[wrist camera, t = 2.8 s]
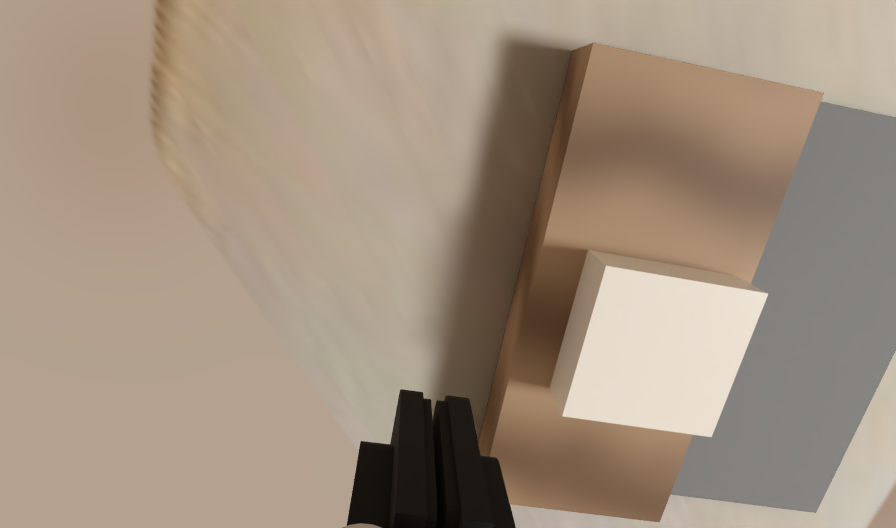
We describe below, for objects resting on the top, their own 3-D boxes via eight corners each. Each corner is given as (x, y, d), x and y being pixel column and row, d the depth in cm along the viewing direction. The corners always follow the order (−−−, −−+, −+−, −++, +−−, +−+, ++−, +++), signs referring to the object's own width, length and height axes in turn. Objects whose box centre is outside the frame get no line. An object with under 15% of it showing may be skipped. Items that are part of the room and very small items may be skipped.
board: (572, 50, 19) (593, 42, 17) (776, 94, 20) (824, 92, 18) (473, 462, 25) (478, 500, 22) (637, 483, 26) (659, 522, 23)
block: (587, 249, 19) (606, 265, 17) (734, 275, 20) (768, 293, 18) (549, 388, 21) (562, 416, 19) (686, 407, 21) (711, 437, 19)
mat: (781, 95, 20) (789, 95, 20) (985, 139, 21) (999, 139, 21) (641, 483, 26) (645, 491, 25) (808, 505, 26) (815, 512, 26)
